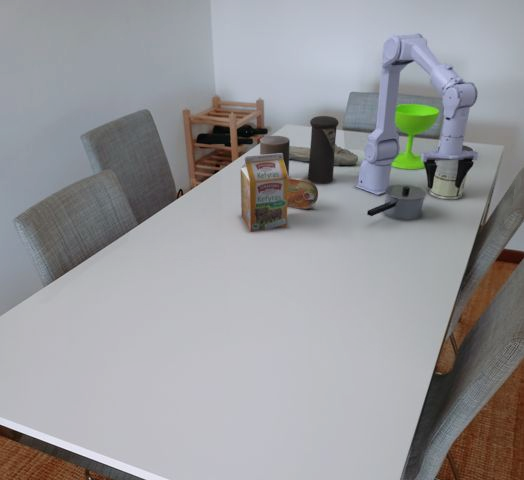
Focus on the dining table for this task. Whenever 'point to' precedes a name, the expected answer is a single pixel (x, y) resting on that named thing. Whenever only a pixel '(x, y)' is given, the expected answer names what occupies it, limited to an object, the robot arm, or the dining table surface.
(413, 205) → the saucepan
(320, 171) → the container
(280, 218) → the milk carton
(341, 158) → the elongated rock
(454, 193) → the coffee can
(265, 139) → the pillar candle
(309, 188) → the tin
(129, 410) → the dining table surface
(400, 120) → the wineglass
